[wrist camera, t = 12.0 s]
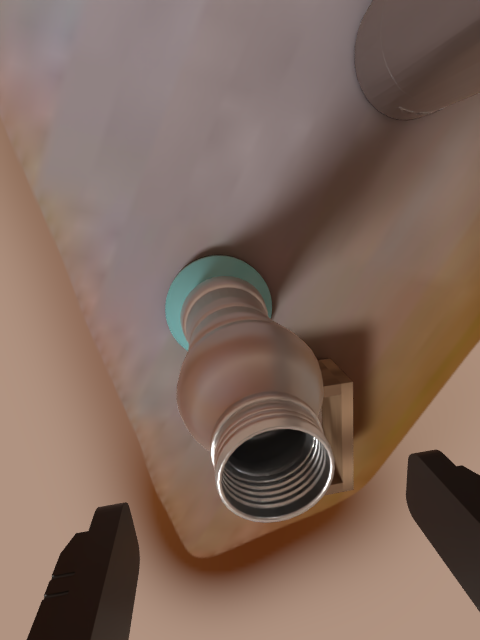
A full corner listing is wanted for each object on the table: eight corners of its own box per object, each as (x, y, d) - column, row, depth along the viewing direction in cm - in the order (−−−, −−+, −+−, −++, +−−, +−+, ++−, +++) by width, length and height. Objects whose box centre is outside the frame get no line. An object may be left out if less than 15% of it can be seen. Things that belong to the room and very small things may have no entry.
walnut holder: (226, 373, 33) (232, 400, 28) (330, 358, 34) (352, 381, 29) (238, 470, 36) (245, 509, 31) (332, 454, 37) (353, 489, 32)
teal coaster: (158, 261, 29) (156, 263, 28) (265, 249, 30) (267, 250, 29) (175, 361, 32) (174, 366, 31) (272, 347, 33) (275, 351, 31)
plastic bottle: (171, 282, 28) (131, 415, 9) (252, 262, 29) (370, 351, 10) (192, 353, 30) (194, 583, 11) (267, 333, 31) (391, 524, 12)
